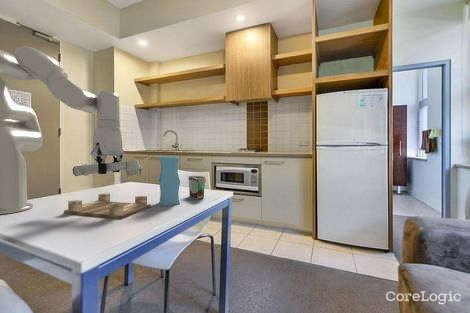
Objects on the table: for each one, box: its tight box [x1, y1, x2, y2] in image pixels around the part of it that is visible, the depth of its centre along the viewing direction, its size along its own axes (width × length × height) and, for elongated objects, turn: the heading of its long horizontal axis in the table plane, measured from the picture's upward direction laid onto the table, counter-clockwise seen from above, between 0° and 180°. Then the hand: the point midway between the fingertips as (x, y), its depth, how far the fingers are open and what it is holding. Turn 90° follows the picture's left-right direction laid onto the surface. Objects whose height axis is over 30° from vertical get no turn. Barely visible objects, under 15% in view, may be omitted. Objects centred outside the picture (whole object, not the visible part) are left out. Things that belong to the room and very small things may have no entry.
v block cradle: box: [63, 192, 152, 220], centre depth 85 cm, size 25×16×4 cm, turn 76°
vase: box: [158, 156, 181, 207], centre depth 96 cm, size 8×8×20 cm
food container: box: [188, 175, 207, 201], centre depth 108 cm, size 12×6×10 cm, turn 34°
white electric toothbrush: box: [72, 159, 144, 177], centre depth 85 cm, size 5×7×25 cm
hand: (109, 172), depth 85 cm, fingers closed on white electric toothbrush, 5 cm apart
